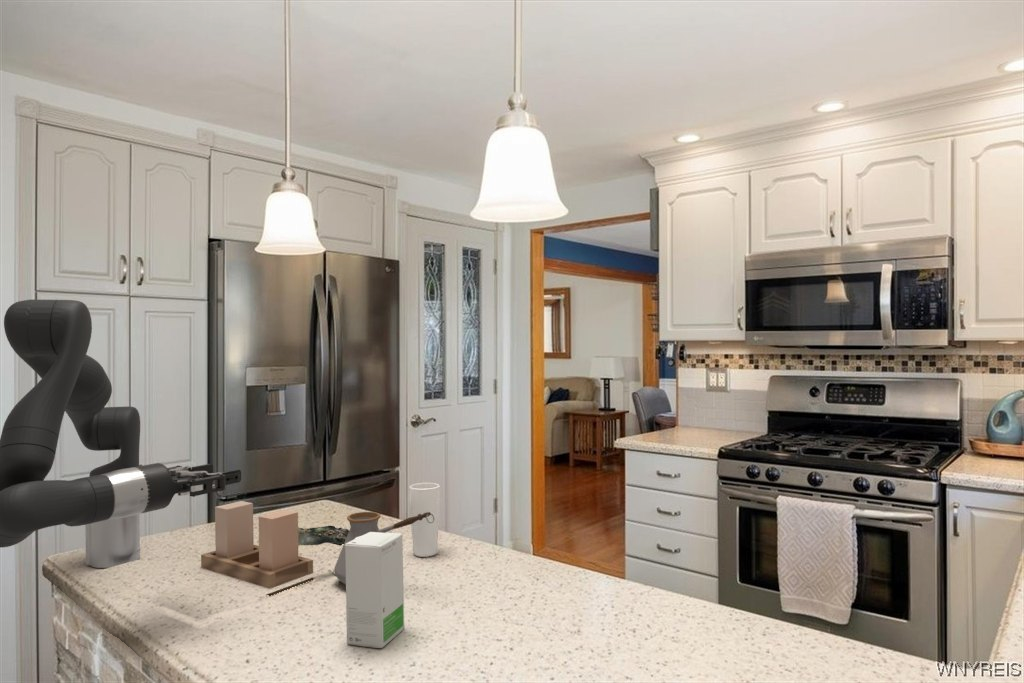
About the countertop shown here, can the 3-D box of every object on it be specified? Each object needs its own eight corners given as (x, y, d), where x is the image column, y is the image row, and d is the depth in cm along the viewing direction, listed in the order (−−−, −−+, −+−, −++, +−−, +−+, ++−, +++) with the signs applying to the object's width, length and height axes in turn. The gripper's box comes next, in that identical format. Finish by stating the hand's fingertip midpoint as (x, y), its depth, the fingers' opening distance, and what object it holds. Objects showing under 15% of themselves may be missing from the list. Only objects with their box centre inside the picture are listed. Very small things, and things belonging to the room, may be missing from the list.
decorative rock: (322, 512, 170) (367, 515, 163) (323, 537, 170) (368, 541, 162) (260, 526, 154) (307, 529, 146) (260, 553, 153) (307, 558, 146)
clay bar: (259, 579, 129) (258, 516, 129) (285, 569, 134) (284, 509, 134) (272, 582, 127) (271, 519, 127) (298, 573, 132) (297, 512, 132)
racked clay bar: (215, 566, 137) (215, 507, 137) (242, 557, 142) (241, 500, 142) (227, 569, 135) (226, 509, 135) (253, 561, 140) (253, 503, 140)
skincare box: (381, 650, 102) (380, 547, 102) (343, 645, 104) (341, 544, 104) (406, 627, 110) (404, 532, 110) (369, 623, 112) (368, 529, 112)
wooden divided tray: (201, 574, 136) (200, 554, 136) (244, 560, 145) (244, 542, 145) (269, 596, 124) (269, 574, 124) (313, 580, 132) (313, 559, 132)
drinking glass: (447, 552, 149) (446, 484, 149) (427, 561, 143) (426, 490, 143) (423, 547, 153) (422, 481, 152) (403, 555, 147) (402, 486, 147)
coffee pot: (321, 587, 128) (320, 508, 128) (359, 568, 139) (358, 495, 139) (416, 605, 119) (415, 520, 119) (449, 583, 130) (448, 505, 130)
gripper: (157, 472, 104) (249, 455, 117) (110, 462, 112) (202, 447, 125) (158, 521, 104) (250, 498, 117) (111, 507, 112) (203, 487, 125)
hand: (225, 472), depth 121 cm, fingers open, 8 cm apart
